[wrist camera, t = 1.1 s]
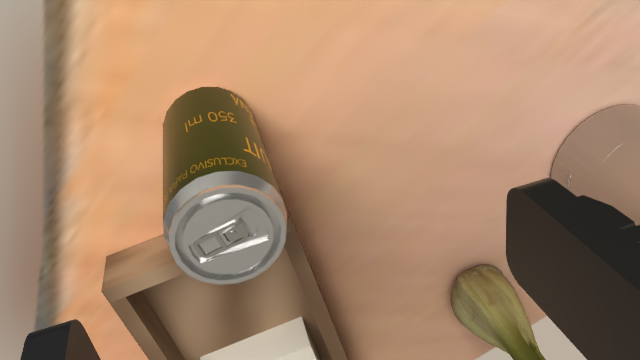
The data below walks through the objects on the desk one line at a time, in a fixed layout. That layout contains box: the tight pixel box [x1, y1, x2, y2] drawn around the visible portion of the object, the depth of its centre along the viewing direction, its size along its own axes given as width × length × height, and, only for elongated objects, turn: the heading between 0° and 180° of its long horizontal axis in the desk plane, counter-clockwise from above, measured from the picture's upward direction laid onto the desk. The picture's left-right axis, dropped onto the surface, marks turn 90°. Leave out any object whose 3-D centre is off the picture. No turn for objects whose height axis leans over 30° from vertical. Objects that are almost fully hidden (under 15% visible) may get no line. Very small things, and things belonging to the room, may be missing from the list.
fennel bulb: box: [451, 265, 545, 360], centre depth 41 cm, size 6×5×12 cm
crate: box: [102, 191, 348, 360], centre depth 40 cm, size 12×18×4 cm, turn 17°
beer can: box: [163, 87, 287, 285], centre depth 29 cm, size 5×5×12 cm
